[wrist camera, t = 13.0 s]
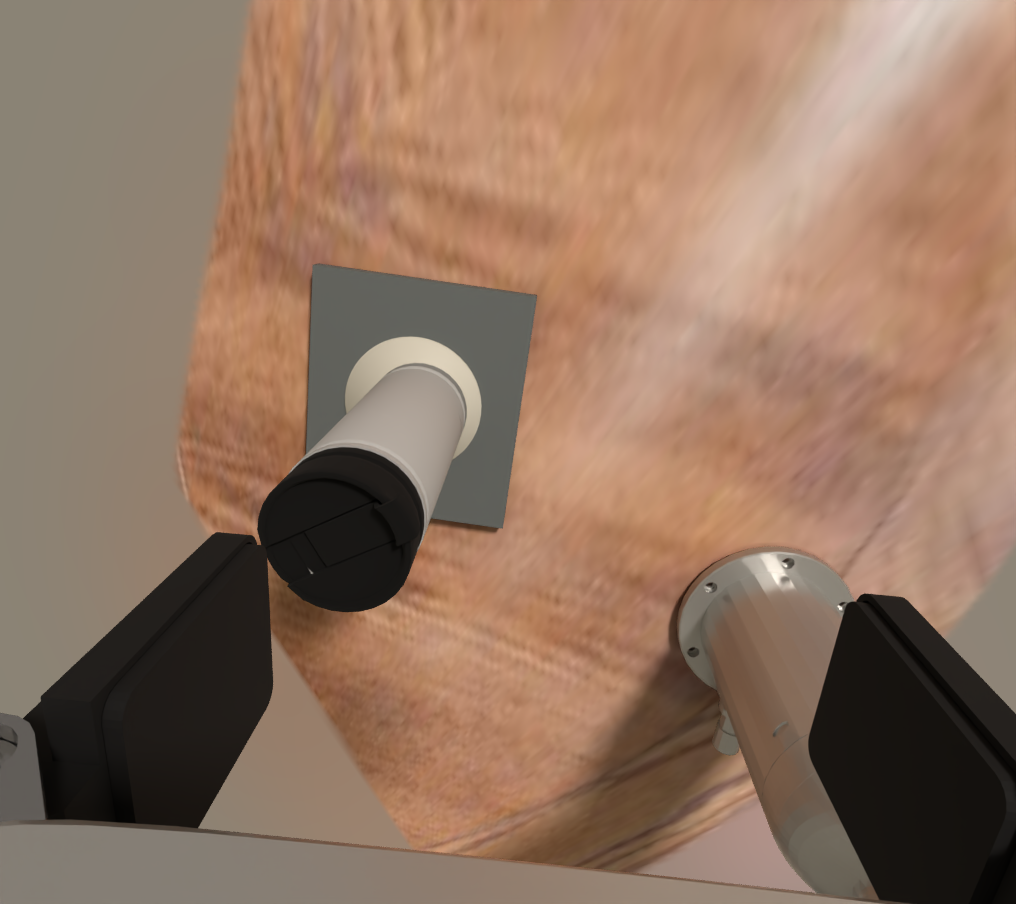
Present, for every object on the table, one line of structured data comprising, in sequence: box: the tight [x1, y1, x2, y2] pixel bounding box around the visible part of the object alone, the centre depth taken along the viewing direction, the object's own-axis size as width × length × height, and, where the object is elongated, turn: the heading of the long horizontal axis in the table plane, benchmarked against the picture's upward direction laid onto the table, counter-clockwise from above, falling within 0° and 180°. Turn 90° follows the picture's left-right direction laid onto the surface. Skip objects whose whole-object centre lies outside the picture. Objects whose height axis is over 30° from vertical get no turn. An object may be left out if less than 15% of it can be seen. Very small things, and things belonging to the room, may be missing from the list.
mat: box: [306, 264, 537, 529], centre depth 44 cm, size 16×14×1 cm
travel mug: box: [257, 363, 467, 612], centre depth 34 cm, size 6×7×20 cm
